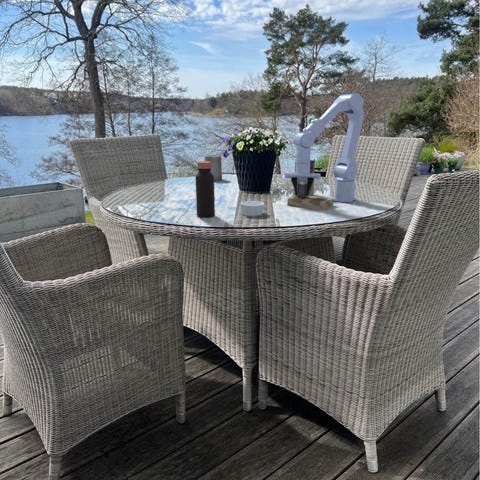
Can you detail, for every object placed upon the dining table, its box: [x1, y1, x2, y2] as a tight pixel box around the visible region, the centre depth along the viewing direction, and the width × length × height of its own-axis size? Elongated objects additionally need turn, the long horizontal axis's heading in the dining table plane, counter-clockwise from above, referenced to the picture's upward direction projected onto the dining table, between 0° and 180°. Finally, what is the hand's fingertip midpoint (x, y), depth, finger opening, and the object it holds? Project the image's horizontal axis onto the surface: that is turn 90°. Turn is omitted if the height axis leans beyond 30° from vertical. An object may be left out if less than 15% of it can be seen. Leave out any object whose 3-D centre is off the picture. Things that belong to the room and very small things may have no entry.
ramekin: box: [240, 200, 265, 217], centre depth 160 cm, size 9×9×4 cm
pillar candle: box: [204, 154, 223, 182], centre depth 243 cm, size 10×10×15 cm
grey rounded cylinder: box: [297, 182, 307, 199], centre depth 175 cm, size 4×4×9 cm
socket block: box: [286, 195, 334, 211], centre depth 174 cm, size 10×16×3 cm, turn 56°
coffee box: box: [293, 159, 316, 196], centre depth 194 cm, size 9×6×16 cm
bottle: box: [195, 160, 216, 219], centre depth 155 cm, size 7×7×20 cm
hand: (301, 195), depth 176 cm, fingers open, 4 cm apart
